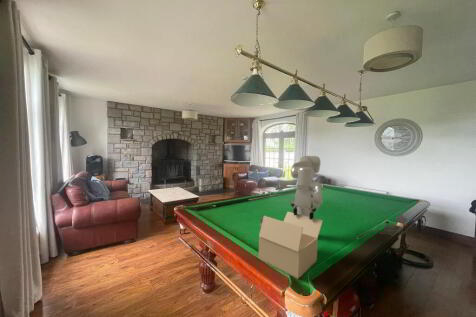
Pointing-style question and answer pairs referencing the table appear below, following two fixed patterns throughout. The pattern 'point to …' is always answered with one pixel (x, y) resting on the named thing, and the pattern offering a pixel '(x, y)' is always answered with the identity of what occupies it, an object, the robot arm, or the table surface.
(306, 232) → the rear flap
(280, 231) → the front flap
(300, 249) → the carton
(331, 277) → the table surface
